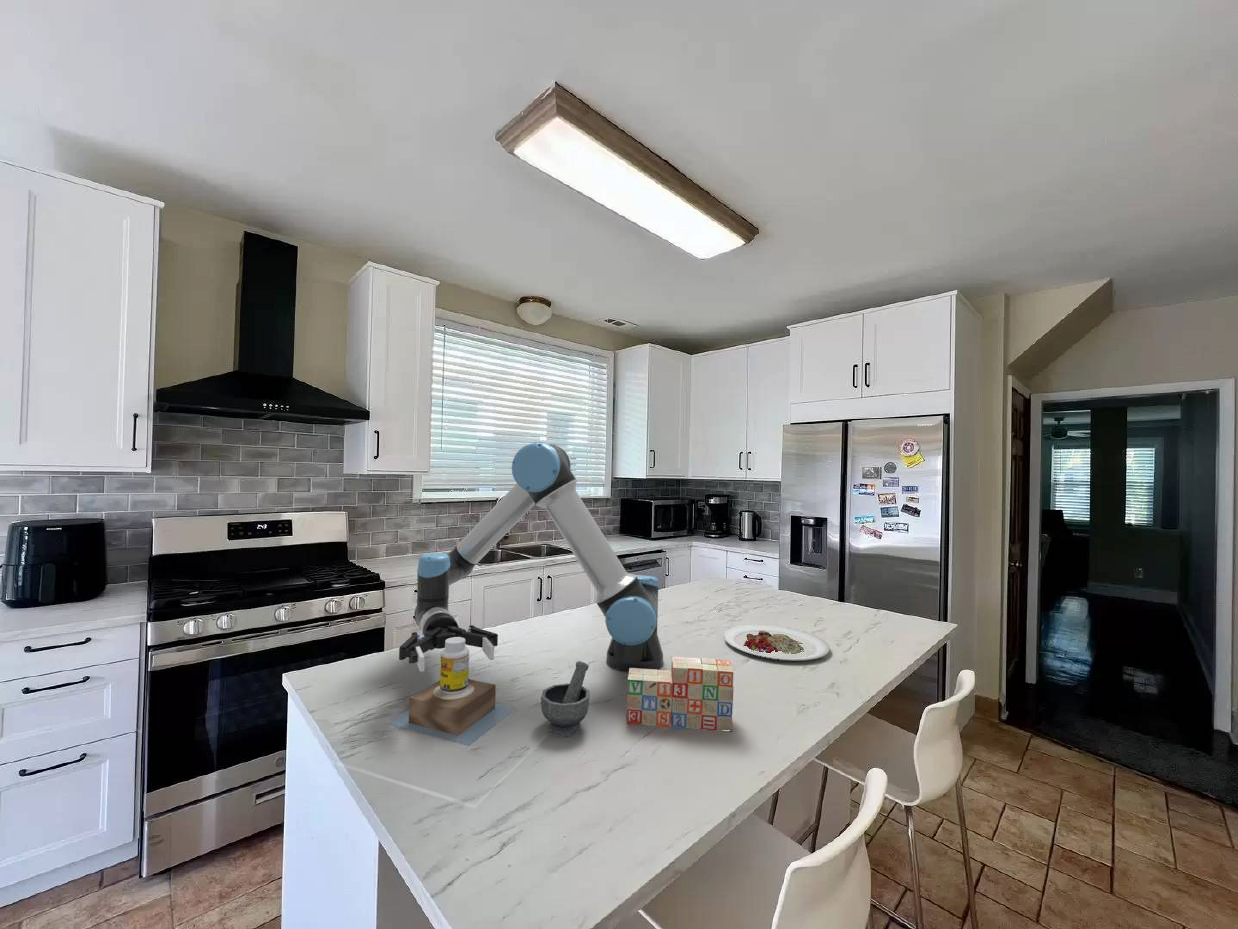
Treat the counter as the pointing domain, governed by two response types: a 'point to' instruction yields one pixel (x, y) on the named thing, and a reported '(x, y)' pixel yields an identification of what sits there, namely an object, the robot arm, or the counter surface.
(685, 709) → the stack of blocks
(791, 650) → the plated food
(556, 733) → the mortar and pestle
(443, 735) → the mat
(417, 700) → the foundation block
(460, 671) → the supplement bottle
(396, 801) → the counter surface
